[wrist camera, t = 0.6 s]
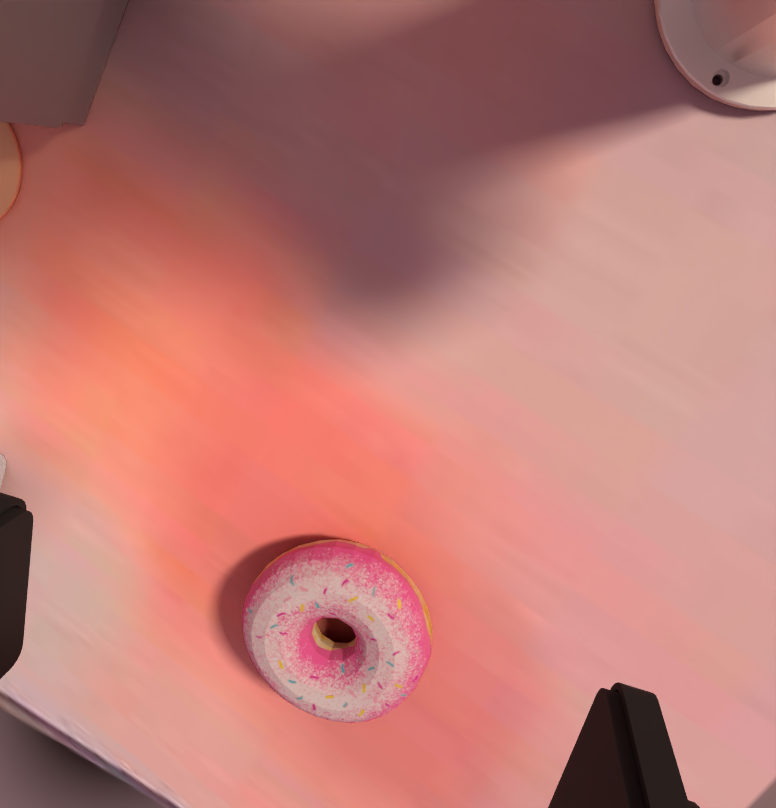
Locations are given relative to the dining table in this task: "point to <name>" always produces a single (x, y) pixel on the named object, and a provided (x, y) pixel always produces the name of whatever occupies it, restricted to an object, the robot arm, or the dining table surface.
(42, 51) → the case
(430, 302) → the dining table surface
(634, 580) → the dining table surface
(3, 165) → the pad
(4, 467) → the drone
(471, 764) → the dining table surface
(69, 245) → the dining table surface
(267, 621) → the donut
